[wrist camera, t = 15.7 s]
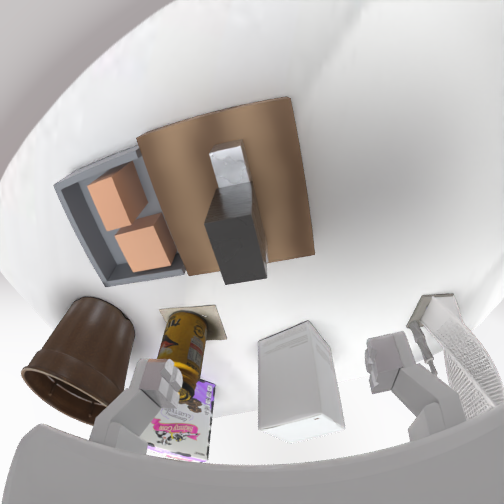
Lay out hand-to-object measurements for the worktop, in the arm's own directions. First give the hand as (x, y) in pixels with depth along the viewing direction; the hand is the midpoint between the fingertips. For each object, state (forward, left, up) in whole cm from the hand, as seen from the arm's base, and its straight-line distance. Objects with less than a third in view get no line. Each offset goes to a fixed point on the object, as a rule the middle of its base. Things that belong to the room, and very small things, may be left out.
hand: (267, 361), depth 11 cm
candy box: (+23, +34, -21) cm, 46 cm away
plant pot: (+30, +17, -21) cm, 40 cm away
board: (+3, 0, -21) cm, 21 cm away
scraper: (+2, 0, -18) cm, 18 cm away
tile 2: (+12, -3, -18) cm, 22 cm away
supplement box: (0, +27, -21) cm, 34 cm away
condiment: (+14, +19, -21) cm, 32 cm away
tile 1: (+14, +3, -20) cm, 25 cm away
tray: (+15, 0, -21) cm, 26 cm away
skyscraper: (-24, +25, -21) cm, 41 cm away
